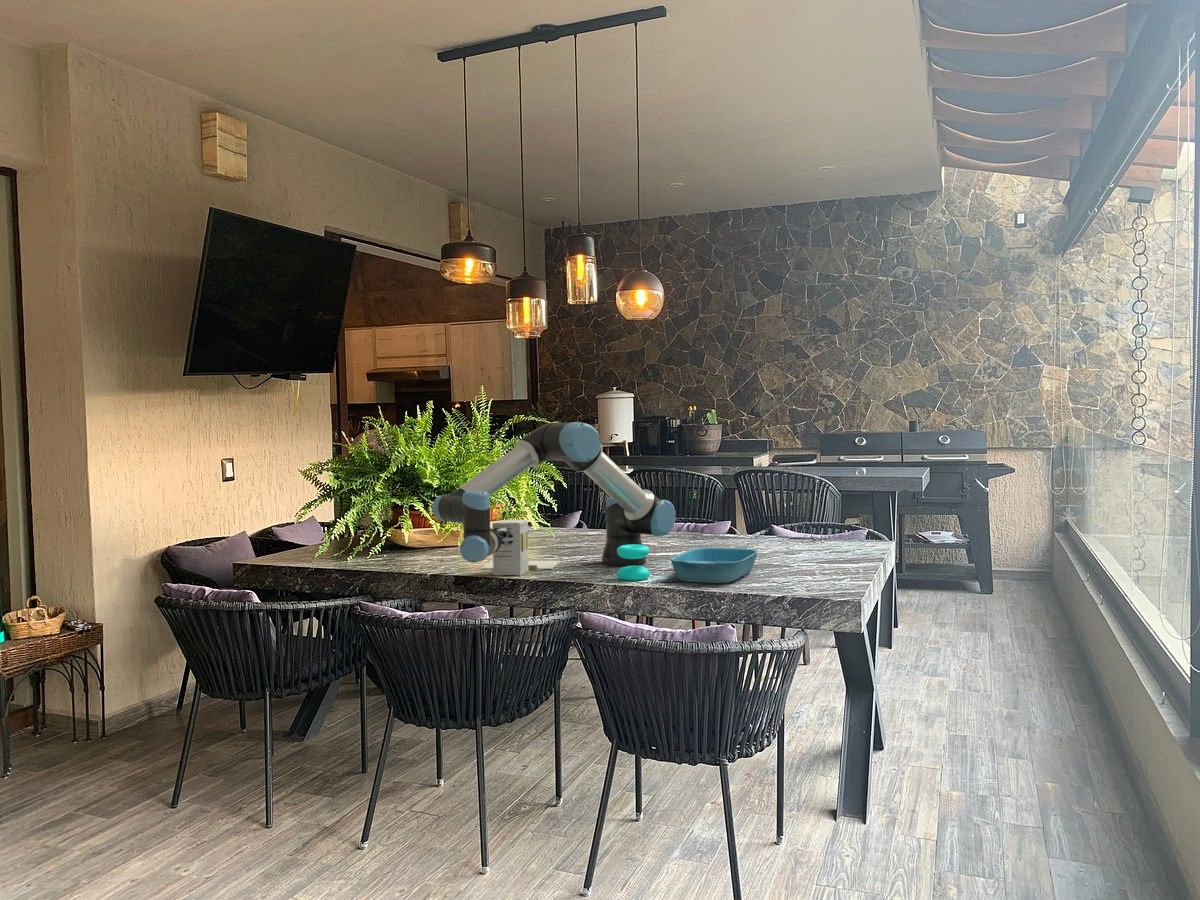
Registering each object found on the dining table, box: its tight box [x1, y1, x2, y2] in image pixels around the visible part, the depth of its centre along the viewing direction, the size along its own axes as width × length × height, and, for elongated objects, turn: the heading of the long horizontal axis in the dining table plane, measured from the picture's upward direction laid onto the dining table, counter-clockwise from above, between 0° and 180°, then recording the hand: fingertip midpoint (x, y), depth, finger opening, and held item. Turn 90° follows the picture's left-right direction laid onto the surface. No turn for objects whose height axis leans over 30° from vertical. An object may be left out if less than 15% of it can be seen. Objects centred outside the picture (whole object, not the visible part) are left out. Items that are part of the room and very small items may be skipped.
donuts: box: [616, 544, 651, 582], centre depth 287 cm, size 10×10×10 cm
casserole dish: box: [670, 546, 759, 584], centre depth 290 cm, size 37×22×7 cm, turn 157°
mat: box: [480, 560, 561, 571], centre depth 315 cm, size 24×17×2 cm
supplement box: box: [491, 519, 529, 576], centre depth 300 cm, size 10×9×17 cm
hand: (504, 532), depth 295 cm, fingers closed
